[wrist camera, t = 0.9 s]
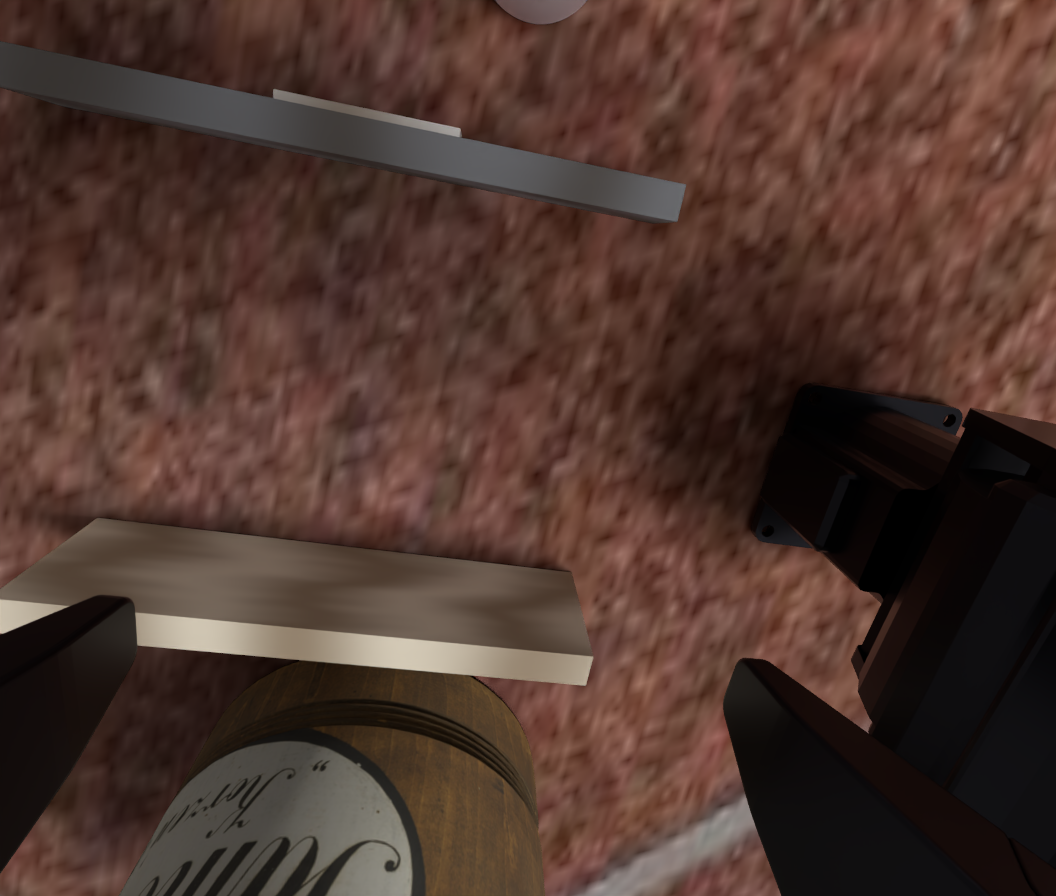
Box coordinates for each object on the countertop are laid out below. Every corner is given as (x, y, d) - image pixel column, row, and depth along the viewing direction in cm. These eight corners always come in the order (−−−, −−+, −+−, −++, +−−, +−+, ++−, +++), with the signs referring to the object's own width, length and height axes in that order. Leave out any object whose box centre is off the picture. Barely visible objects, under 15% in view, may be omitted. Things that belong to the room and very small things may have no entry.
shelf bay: (663, 180, 18) (723, 163, 14) (565, 597, 24) (585, 685, 19) (58, 54, 16) (-115, -19, 12) (100, 545, 22) (-7, 632, 17)
